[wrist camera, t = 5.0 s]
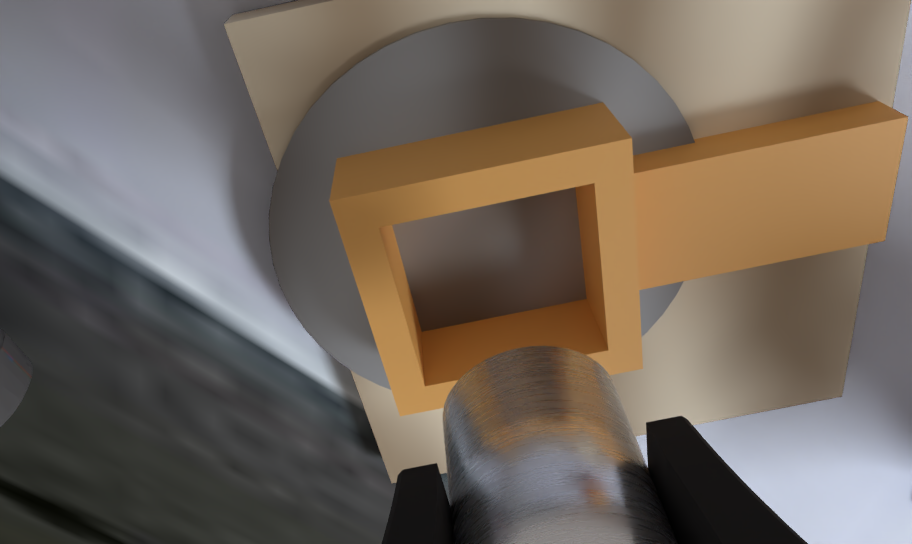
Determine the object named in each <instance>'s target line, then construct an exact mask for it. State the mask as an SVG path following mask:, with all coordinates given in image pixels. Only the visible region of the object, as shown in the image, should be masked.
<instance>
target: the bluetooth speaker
mask: <svg viewBox="0 0 912 544" xmlns="http://www.w3.org/2000/svg"><path fill="white" fill-rule="evenodd" d="M32 369H33V366H32V363H31V361H30V360H29V359H28V357H27V356H26V355H25V354H24V353H23V352H22V351H21V350H20V348H19V347H18V346H17V345H16V344H15V343H14V342H13V341H12V339H11V338H10V337H9V336H8V335H7V334H6V333H5V332H4V330H2V329H1V328H0V427H1V426H2V425H3V424H4V423H5V422H6V421H7V420H8V418H9V417H10V416H11V415H12V414H13V413H14V411H15V410H16V408H17V407H18V405H19V404H20V402H21V401H22V399H23V397H24V395H25V393H26V391H27V388H28V386H29V383H30V380H31V377H32Z"/></svg>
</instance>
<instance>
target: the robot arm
mask: <svg viewBox="0 0 912 544" xmlns="http://www.w3.org/2000/svg"><path fill="white" fill-rule="evenodd" d="M646 434H647V455H648V470H649V473H650V475H651V478H652V480H653V483H654V485H655V488H656V490H657V493H658V495H659V498H660V500H661V503H662V505H663V508H664V510H665V513H666V515H667V518H668V520H669V523H670V525H671V528H672V530H673V533H674V535H675V538H676V540H677V543H678V544H808V543H807V542H805V541H804V540H803V539H802V538H801V537H800V536H799V535H798V534H797V533H796V532H795V531H794V530H792V529H791V528H790V527H789V526H788V525H787V524H786V523H785V522H784V521H783V520H782V519H781V518H780V517H779V516H778V515H777V514H776V513H775V512H774V511H773V510H772V509H771V508H770V507H769V506H768V505H766V504H765V503H764V502H763V501H762V500H761V499H760V498H759V497H758V496H757V495H756V494H755V493H754V492H753V491H752V490H751V489H750V488H749V487H748V486H747V485H746V484H745V483H744V482H743V481H742V480H741V479H740V477H739V476H738V475H737V474H736V473H735V472H734V471H733V470H732V469H731V468H730V467H729V466H728V465H727V464H726V463H725V462H724V460H723V459H722V458H721V457H720V456H719V455H718V454H717V453H716V452H715V451H714V450H713V448H712V447H711V446H710V445H709V444H708V443H707V442H706V440H705V439H704V438H703V437H702V436H701V435H700V434H699V432H698V431H697V430H696V429H695V428H694V426H693V425H692V424H691V423H690V422H689V420H688V419H686V418H685V417H683V416H677V417H672V418H667V419H661V420H656V421H651V422H646ZM382 544H454V541H453V530H452V519H451V508H450V505H449V501H448V498H447V495H446V491H445V488H444V485H443V482H442V478H441V475H440V472H439V468H438V465H437V463H434V464H429V465H424V466H419V467H414V468H408V469H403V470H402V471H401V472H400V473H399V474H398V477H397V483H396V488H395V493H394V498H393V502H392V507H391V511H390V515H389V519H388V523H387V526H386V530H385V534H384V537H383V541H382Z"/></svg>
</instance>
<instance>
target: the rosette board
mask: <svg viewBox="0 0 912 544" xmlns="http://www.w3.org/2000/svg"><path fill="white" fill-rule="evenodd" d="M910 4H911V0H298V1H293V2H289V3H284V4H279V5H275V6H270V7H266V8H261V9H257V10H252V11H248V12H243V13H238V14H234V15H232V16H231V17H230V18H229V19H228V20H227V21H226V22H225V23H224V27H225V30H226V32H227V35H228V38H229V40H230V43H231V46H232V49H233V51H234V54H235V57H236V60H237V62H238V65H239V68H240V70H241V73H242V76H243V79H244V81H245V84H246V87H247V90H248V92H249V95H250V98H251V100H252V103H253V106H254V109H255V111H256V114H257V117H258V120H259V122H260V125H261V128H262V130H263V133H264V136H265V139H266V141H267V144H268V147H269V150H270V152H271V155H272V158H273V160H274V163H275V166H276V169H277V171H278V172H277V175H276V179H275V182H274V185H273V190H272V197H271V203H270V210H269V241H270V247H271V253H272V260H273V265H274V268H275V271H276V274H277V277H278V281H279V284H280V287H281V289H282V291H283V293H284V295H285V297H286V299H287V301H288V303H289V305H290V307H291V309H292V311H293V312H294V314H295V315H296V317H297V318H298V320H299V321H300V323H301V324H302V325H303V327H304V328H305V330H306V331H307V332H308V333H309V334H310V335H311V336H312V337H313V339H314V340H315V341H316V342H317V343H318V344H319V345H320V346H321V347H322V348H323V349H324V350H325V351H326V352H328V353H329V354H330V355H331V356H332V357H334V358H335V359H336V360H337V361H338V362H340V363H341V364H343V365H344V366H346V367H347V368H349V369H350V371H351V373H352V376H353V379H354V381H355V384H356V387H357V390H358V392H359V395H360V398H361V401H362V403H363V406H364V409H365V411H366V414H367V417H368V420H369V422H370V425H371V428H372V431H373V433H374V436H375V439H376V441H377V444H378V447H379V450H380V452H381V455H382V458H383V461H384V463H385V466H386V469H387V471H388V474H389V477H390V480H391V482H392V483H396V482H397V477H398V474H399V473H400V472H401V471H402V470H403V469H408V468H414V467H419V466H424V465H429V464H434V463H437V465H438V468H439V472H440V474H442V473H447V465H446V454H445V443H444V432H443V421H442V420H443V409H444V408H441V409H436V410H430V411H425V412H420V413H415V414H410V415H405V416H400V415H399V412H398V409H397V406H396V403H395V400H394V397H393V394H392V390H391V387H390V384H389V381H388V378H387V375H386V372H385V369H384V366H383V363H382V360H381V357H380V354H379V351H378V348H377V345H376V342H375V339H374V336H373V333H372V330H371V327H370V324H369V321H368V318H367V314H366V311H365V308H364V305H363V302H362V299H361V296H360V293H359V290H358V287H357V284H356V281H355V278H354V275H353V272H352V269H351V266H350V263H349V260H348V257H347V254H346V251H345V248H344V245H343V242H342V238H341V235H340V232H339V229H338V226H337V223H336V220H335V217H334V214H333V211H332V208H331V205H330V202H329V200H330V194H331V188H332V183H333V177H334V171H335V166H336V160H337V158H341V157H346V156H350V155H355V154H360V153H365V152H369V151H374V150H379V149H384V148H388V147H393V146H398V145H403V144H407V143H412V142H417V141H422V140H426V139H431V138H436V137H441V136H445V135H450V134H455V133H460V132H464V131H469V130H474V129H479V128H483V127H488V126H493V125H498V124H502V123H507V122H512V121H517V120H521V119H526V118H531V117H536V116H540V115H545V114H550V113H555V112H559V111H564V110H569V109H574V108H578V107H583V106H588V105H593V104H597V103H602V102H603V103H604V104H605V105H606V106H607V108H608V109H609V110H610V111H611V113H612V114H613V115H614V116H615V117H616V119H617V120H618V121H619V122H620V124H621V125H622V126H623V127H624V129H625V130H626V131H627V132H628V134H629V135H630V136H631V137H632V146H633V155H638V154H643V153H647V152H652V151H657V150H662V149H667V148H671V147H676V146H681V145H686V144H691V143H695V141H694V139H698V138H703V137H708V136H713V135H717V134H722V133H727V132H732V131H737V130H741V129H746V128H751V127H756V126H761V125H766V124H770V123H775V122H780V121H785V120H790V119H794V118H799V117H804V116H809V115H814V114H818V113H823V112H828V111H833V110H838V109H843V108H847V107H852V106H857V105H862V104H867V103H871V102H876V101H880V102H881V103H883V104H885V105H887V106H889V107H891V108H892V107H893V101H894V95H895V90H896V84H897V78H898V72H899V67H900V61H901V55H902V49H903V44H904V38H905V32H906V27H907V21H908V15H909V9H910ZM392 226H393V230H394V234H395V237H396V241H397V245H398V248H399V252H400V255H401V259H402V263H403V266H404V270H405V273H406V277H407V281H408V284H409V288H410V291H411V295H412V299H413V302H414V306H415V309H416V313H417V317H418V320H419V324H420V328H421V331H422V332H424V331H429V330H434V329H439V328H444V327H449V326H454V325H459V324H464V323H469V322H474V321H479V320H484V319H489V318H494V317H499V316H504V315H509V314H514V313H519V312H524V311H529V310H534V309H539V308H543V307H548V306H553V305H558V304H563V303H568V302H573V301H578V300H583V299H587V298H586V288H585V278H584V268H583V258H582V248H581V238H580V229H579V219H578V209H577V199H576V189H575V187H574V188H569V189H564V190H559V191H554V192H549V193H545V194H540V195H535V196H530V197H525V198H520V199H515V200H511V201H506V202H501V203H496V204H491V205H486V206H482V207H477V208H472V209H467V210H462V211H457V212H453V213H448V214H443V215H438V216H433V217H428V218H423V219H419V220H414V221H409V222H404V223H399V224H394V225H392ZM867 250H868V244H867V245H862V246H857V247H852V248H847V249H842V250H837V251H832V252H827V253H822V254H817V255H812V256H807V257H802V258H797V259H792V260H787V261H782V262H777V263H772V264H767V265H762V266H757V267H752V268H747V269H742V270H737V271H732V272H727V273H722V274H717V275H712V276H707V277H702V278H697V279H692V280H687V281H682V282H677V283H672V284H667V285H662V286H657V287H652V288H647V289H642V290H639V295H640V316H641V337H642V358H643V369H639V370H634V371H629V372H624V373H619V374H614V375H610V377H611V378H612V380H613V382H614V385H615V387H616V390H617V392H618V395H619V397H620V400H621V402H622V405H623V407H624V410H625V412H626V415H627V417H628V420H629V422H630V425H631V427H632V430H633V432H634V435H635V436H640V435H645V434H646V422H651V421H656V420H661V419H667V418H672V417H677V416H683V417H685V418H686V419H688V420H689V422H690V423H691V424H692V425H697V424H702V423H707V422H712V421H717V420H723V419H728V418H733V417H738V416H743V415H749V414H754V413H759V412H764V411H769V410H775V409H780V408H785V407H790V406H795V405H801V404H806V403H811V402H816V401H821V400H826V399H832V398H837V397H842V393H843V387H844V382H845V376H846V370H847V364H848V359H849V353H850V347H851V341H852V336H853V330H854V324H855V319H856V313H857V307H858V301H859V296H860V290H861V284H862V278H863V273H864V267H865V261H866V256H867Z"/></svg>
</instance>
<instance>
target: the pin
mask: <svg viewBox="0 0 912 544" xmlns="http://www.w3.org/2000/svg"><path fill="white" fill-rule="evenodd" d="M442 421H443V432H444V443H445V454H446V465H447V476H448V487H449V499H450V508H451V519H452V530H453V541H454V544H678V543H677V540H676V538H675V535H674V533H673V530H672V528H671V525H670V523H669V520H668V518H667V515H666V513H665V510H664V508H663V505H662V503H661V500H660V498H659V495H658V493H657V490H656V488H655V485H654V483H653V480H652V478H651V475H650V473H649V470H648V468H647V465H646V463H645V460H644V458H643V455H642V452H641V450H640V447H639V445H638V442H637V440H636V437H635V435H634V432H633V430H632V427H631V425H630V422H629V420H628V417H627V415H626V412H625V410H624V407H623V405H622V402H621V400H620V397H619V395H618V392H617V390H616V387H615V385H614V382H613V380H612V378H611V377H610V375H609V373H608V372H607V371H606V370H605V369H604V367H603V366H601V365H600V364H599V363H598V362H597V361H595V360H594V359H592V358H590V357H589V356H587V355H585V354H582V353H580V352H578V351H574V350H571V349H568V348H562V347H557V346H529V347H522V348H517V349H513V350H508V351H505V352H502V353H500V354H497V355H494V356H492V357H490V358H488V359H486V360H484V361H482V362H481V363H479V364H477V365H476V366H474V367H473V368H472V369H470V370H469V371H468V372H466V373H465V374H464V375H463V376H462V377H461V378H460V379H459V380H458V381H457V383H456V384H455V385H454V386H453V388H452V389H451V391H450V393H449V395H448V396H447V399H446V401H445V404H444V409H443V420H442Z"/></svg>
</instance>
